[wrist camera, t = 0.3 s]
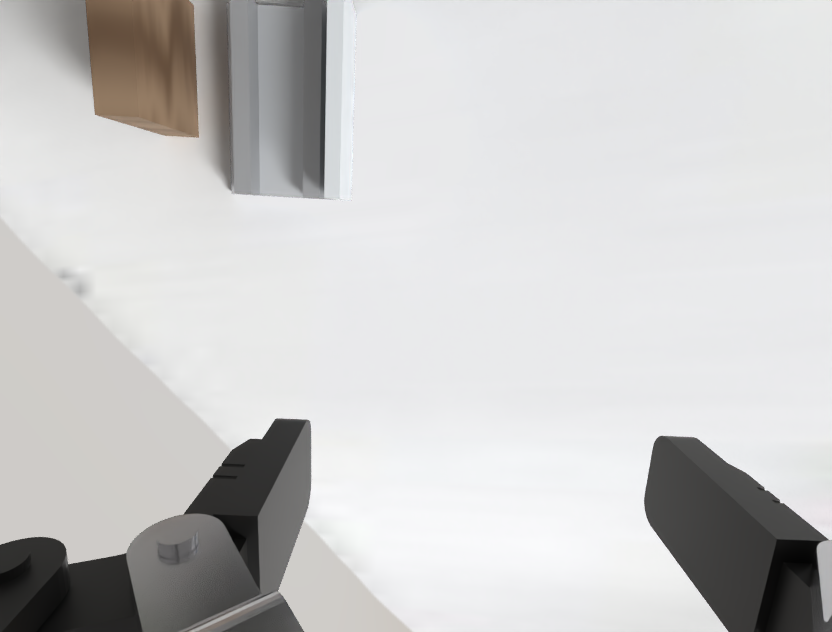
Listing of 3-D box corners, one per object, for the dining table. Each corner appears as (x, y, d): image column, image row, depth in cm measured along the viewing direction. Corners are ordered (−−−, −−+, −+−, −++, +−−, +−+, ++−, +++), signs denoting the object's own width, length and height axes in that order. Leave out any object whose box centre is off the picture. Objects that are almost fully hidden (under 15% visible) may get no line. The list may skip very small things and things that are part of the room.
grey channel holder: (231, 7, 34) (192, -36, 28) (356, 15, 34) (344, -26, 28) (235, 193, 37) (201, 190, 31) (351, 200, 37) (339, 198, 31)
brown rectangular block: (157, 2, 34) (80, -59, 26) (193, 5, 34) (127, -56, 26) (164, 135, 36) (95, 114, 28) (198, 137, 36) (139, 117, 28)
